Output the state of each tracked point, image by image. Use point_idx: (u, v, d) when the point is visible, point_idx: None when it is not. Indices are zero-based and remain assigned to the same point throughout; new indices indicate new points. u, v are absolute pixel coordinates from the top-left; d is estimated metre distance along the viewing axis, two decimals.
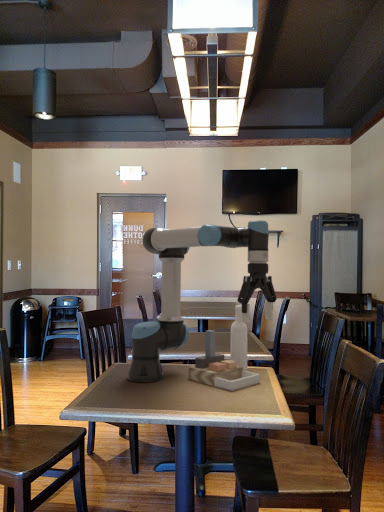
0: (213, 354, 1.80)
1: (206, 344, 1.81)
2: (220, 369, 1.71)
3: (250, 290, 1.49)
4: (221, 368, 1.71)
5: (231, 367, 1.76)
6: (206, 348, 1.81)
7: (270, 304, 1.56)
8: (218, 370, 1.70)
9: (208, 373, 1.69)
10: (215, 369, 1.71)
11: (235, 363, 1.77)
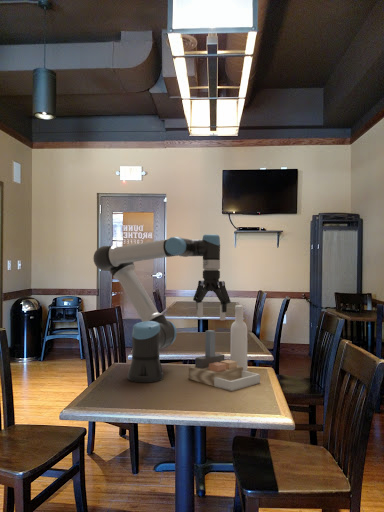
0: (213, 354, 1.80)
1: (206, 344, 1.81)
2: (220, 369, 1.71)
3: None
4: (221, 368, 1.71)
5: (231, 367, 1.76)
6: (206, 348, 1.81)
7: None
8: (218, 370, 1.70)
9: (208, 373, 1.69)
10: (215, 369, 1.71)
11: (235, 363, 1.77)
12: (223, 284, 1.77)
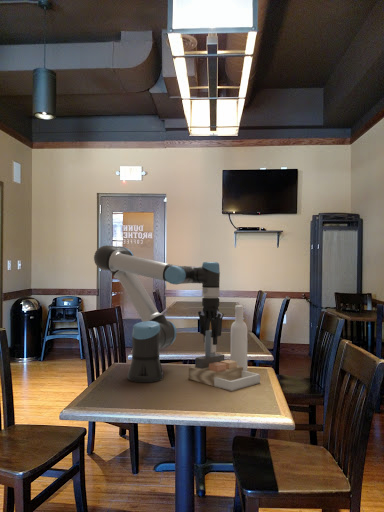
0: (213, 354, 1.80)
1: (206, 344, 1.81)
2: (220, 369, 1.71)
3: None
4: (221, 368, 1.71)
5: (231, 367, 1.76)
6: (206, 348, 1.81)
7: None
8: (218, 370, 1.70)
9: (208, 373, 1.69)
10: (215, 369, 1.71)
11: (235, 363, 1.77)
12: (221, 317, 1.77)
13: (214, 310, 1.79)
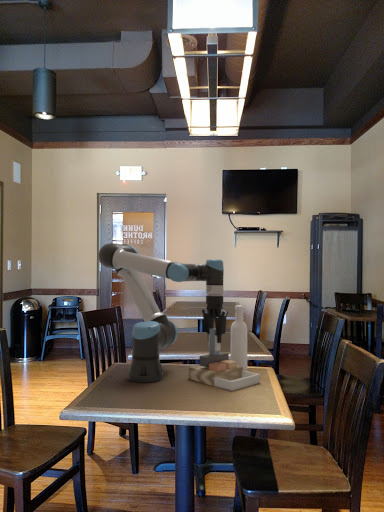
0: (217, 352, 1.79)
1: (210, 342, 1.79)
2: (220, 369, 1.71)
3: None
4: (221, 368, 1.71)
5: (231, 367, 1.76)
6: (210, 346, 1.79)
7: None
8: (218, 370, 1.70)
9: (208, 373, 1.69)
10: (215, 369, 1.71)
11: (235, 363, 1.77)
12: (225, 315, 1.76)
13: (218, 308, 1.77)
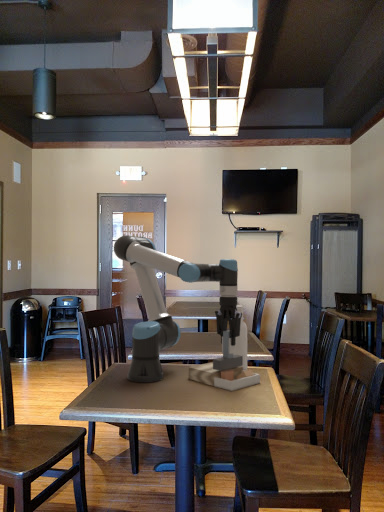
0: (231, 355, 1.73)
1: (224, 345, 1.74)
2: None
3: None
4: None
5: None
6: (224, 349, 1.73)
7: None
8: None
9: (208, 373, 1.69)
10: None
11: None
12: (240, 316, 1.70)
13: (232, 309, 1.71)
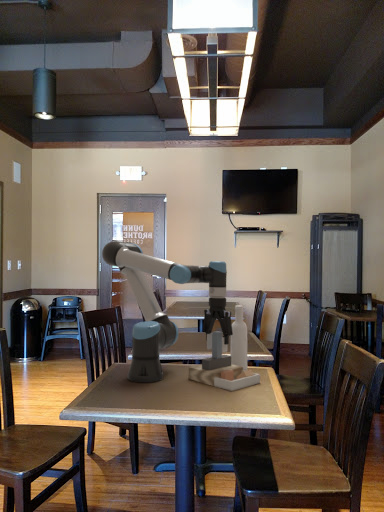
0: (220, 355, 1.77)
1: (213, 345, 1.78)
2: None
3: None
4: None
5: None
6: (213, 349, 1.78)
7: None
8: None
9: (208, 373, 1.69)
10: None
11: None
12: (229, 315, 1.74)
13: (221, 310, 1.76)
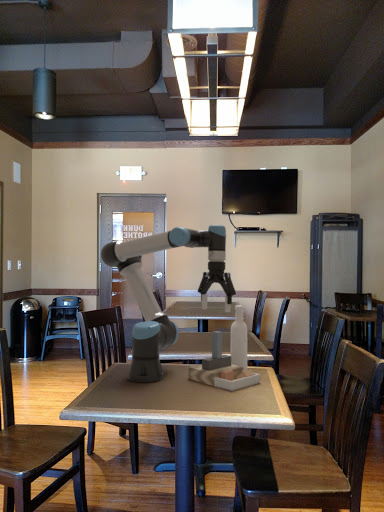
0: (220, 355, 1.77)
1: (213, 345, 1.78)
2: None
3: None
4: None
5: None
6: (213, 349, 1.78)
7: None
8: None
9: (208, 373, 1.69)
10: None
11: None
12: (228, 275, 1.75)
13: (220, 273, 1.76)
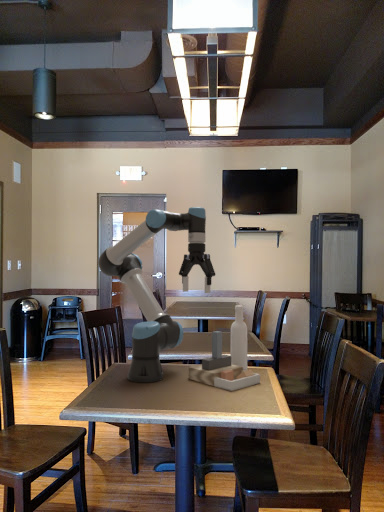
0: (220, 355, 1.77)
1: (213, 345, 1.78)
2: None
3: None
4: None
5: None
6: (213, 349, 1.78)
7: None
8: None
9: (208, 373, 1.69)
10: None
11: None
12: (208, 257, 1.76)
13: (200, 255, 1.77)
